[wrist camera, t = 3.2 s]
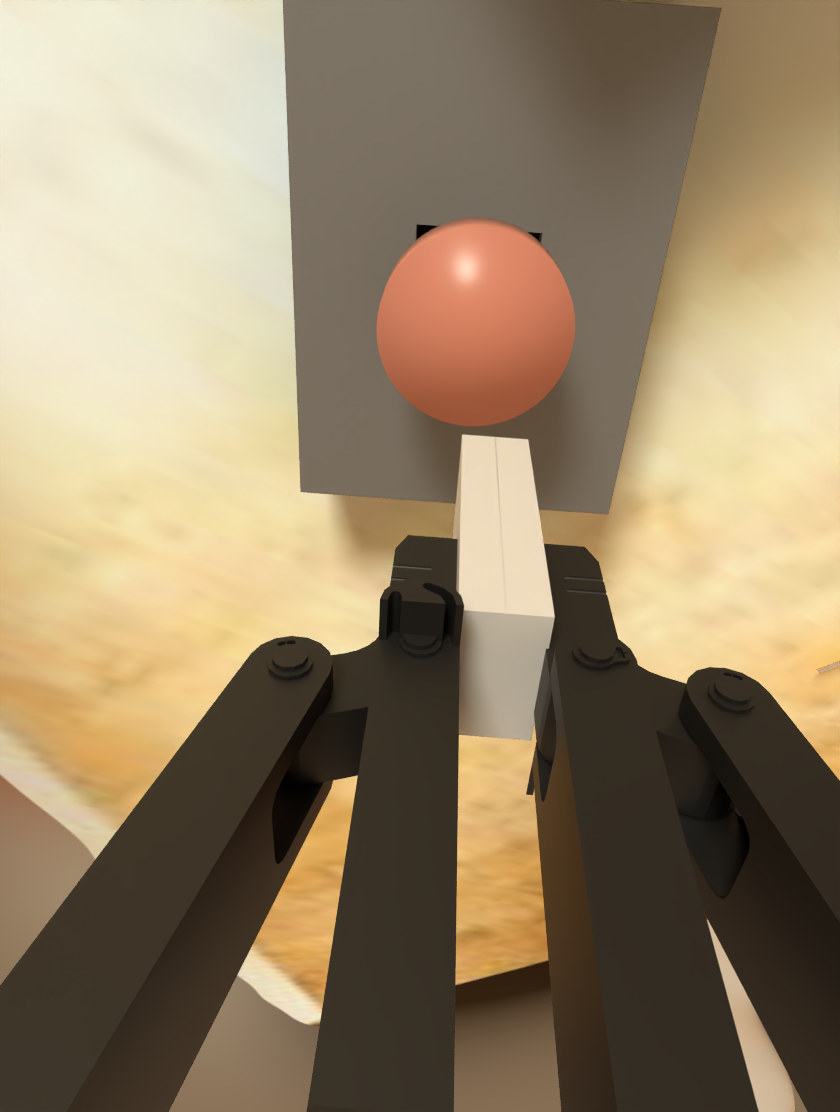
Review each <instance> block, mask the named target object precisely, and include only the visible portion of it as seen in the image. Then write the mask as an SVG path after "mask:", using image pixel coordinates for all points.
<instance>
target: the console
mask: <svg viewBox="0 0 840 1112" xmlns="http://www.w3.org/2000/svg"><path fill="white" fill-rule="evenodd" d="M720 12H721V8H712V7H697V6H682V5H666V4H651V3H636V2H621V1H606V0H283V15H284V43H285V71H286V99H287V126H288V154H289V182H290V209H291V237H292V265H293V293H294V320H295V348H296V376H297V403H298V431H299V459H300V486H301V492H308V493H322V494H335V495H349V496H363V497H377V498H391V499H404V500H418V501H432V502H446V503H456V496H457V485H458V474H459V463H460V453H461V442H462V435H476V436H489V437H503V438H516V439H528V442H529V449H530V456H531V462H532V469H533V476H534V482H535V489H536V495H537V502H538V509H542V510H556V511H570V512H584V513H598V514H608V513H609V509H610V504H611V500H612V496H613V491H614V487H615V482H616V478H617V473H618V469H619V464H620V460H621V455H622V451H623V446H624V442H625V437H626V433H627V428H628V424H629V419H630V415H631V410H632V406H633V402H634V397H635V393H636V388H637V384H638V379H639V375H640V370H641V366H642V361H643V357H644V352H645V348H646V343H647V339H648V334H649V330H650V325H651V321H652V316H653V312H654V308H655V303H656V299H657V294H658V290H659V285H660V281H661V276H662V272H663V267H664V263H665V258H666V254H667V249H668V245H669V240H670V236H671V231H672V227H673V223H674V218H675V214H676V209H677V205H678V200H679V196H680V191H681V187H682V182H683V178H684V173H685V169H686V164H687V160H688V155H689V151H690V146H691V142H692V137H693V133H694V129H695V124H696V120H697V115H698V111H699V106H700V102H701V97H702V93H703V88H704V84H705V79H706V75H707V70H708V66H709V61H710V57H711V52H712V48H713V43H714V39H715V35H716V30H717V26H718V21H719V17H720ZM465 218H490V219H497V220H500V221H504V222H507V223H510V224H512V225H515V226H517V227H519V228H521V229H523V230H524V231H526V232H536V233H540V236H539V242H540V243H541V244H542V245H543V246H544V247H545V248H546V249H547V250H548V251H549V253H550V254H551V255H552V257H553V258H554V260H555V261H556V263H557V265H558V267H559V269H560V271H561V273H562V275H563V278H564V280H565V282H566V285H567V287H568V289H569V292H570V295H571V299H572V302H573V307H574V313H575V336H574V343H573V347H572V352H571V355H570V358H569V361H568V363H567V366H566V368H565V370H564V372H563V373H562V375H561V377H560V379H559V380H558V382H557V383H556V384H555V386H554V387H553V388H552V390H551V391H550V392H549V393H548V394H547V395H546V396H545V397H544V398H543V399H542V400H541V401H540V402H538V403H537V404H536V405H535V406H533V407H532V408H530V409H529V410H527V411H526V412H524V413H522V414H520V415H518V416H516V417H515V418H512V419H509V420H507V421H504V422H500V423H496V424H492V425H485V426H462V425H455V424H451V423H447V422H443V421H440V420H438V419H435V418H433V417H431V416H429V415H427V414H425V413H423V412H421V411H420V410H419V409H417V408H416V407H414V406H413V405H412V404H410V403H409V402H408V401H407V400H406V399H405V398H404V397H403V396H402V395H401V394H400V392H399V391H398V390H397V389H396V388H395V386H394V385H393V383H392V382H391V380H390V378H389V377H388V375H387V373H386V371H385V368H384V366H383V364H382V360H381V357H380V354H379V349H378V344H377V329H376V327H377V316H378V311H379V306H380V302H381V299H382V296H383V293H384V290H385V287H386V284H387V281H388V279H389V276H390V274H391V272H392V270H393V268H394V266H395V264H396V263H397V261H398V260H399V258H400V257H401V256H402V254H403V253H404V252H405V251H406V250H407V249H408V248H409V246H410V245H411V244H412V243H414V242H415V241H416V240H417V225H418V224H419V225H434V226H440V225H442V224H445V223H448V222H451V221H455V220H458V219H465Z"/></svg>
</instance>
